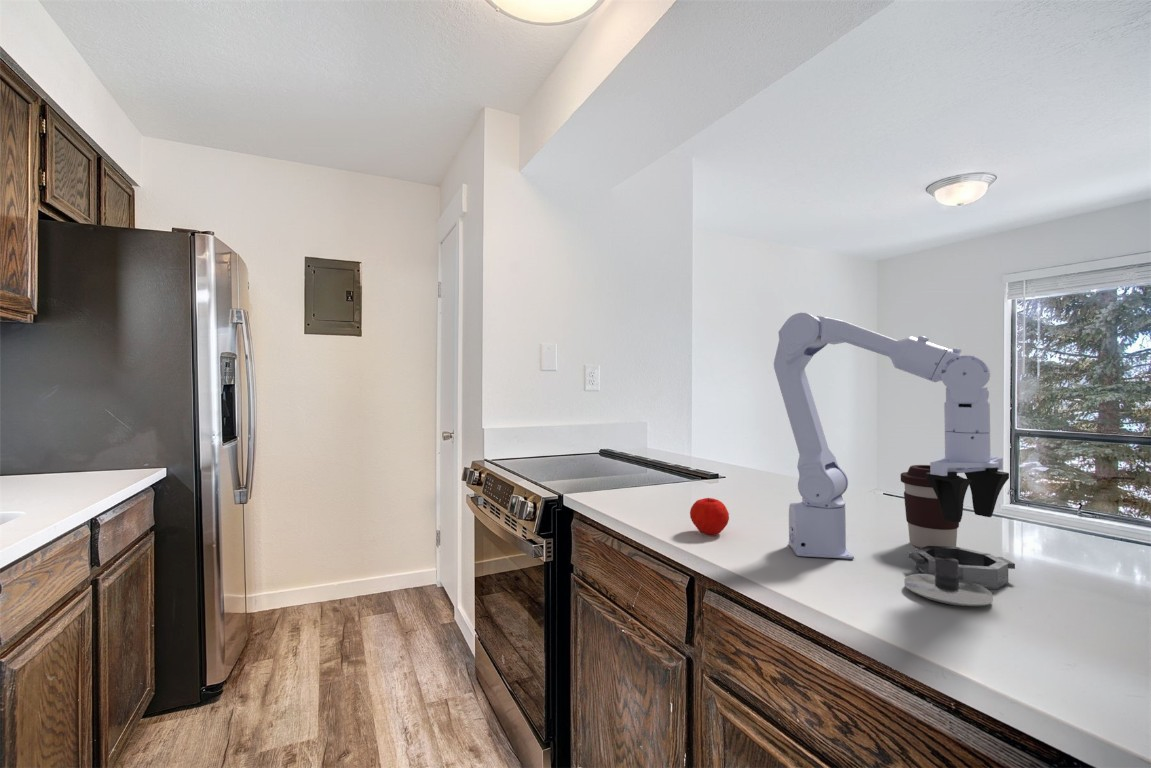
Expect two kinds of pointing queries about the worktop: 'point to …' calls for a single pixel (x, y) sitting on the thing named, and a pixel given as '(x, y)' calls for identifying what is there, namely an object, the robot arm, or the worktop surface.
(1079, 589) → the worktop surface
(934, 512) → the coffee cup
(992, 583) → the pot
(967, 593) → the lid
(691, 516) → the apple
